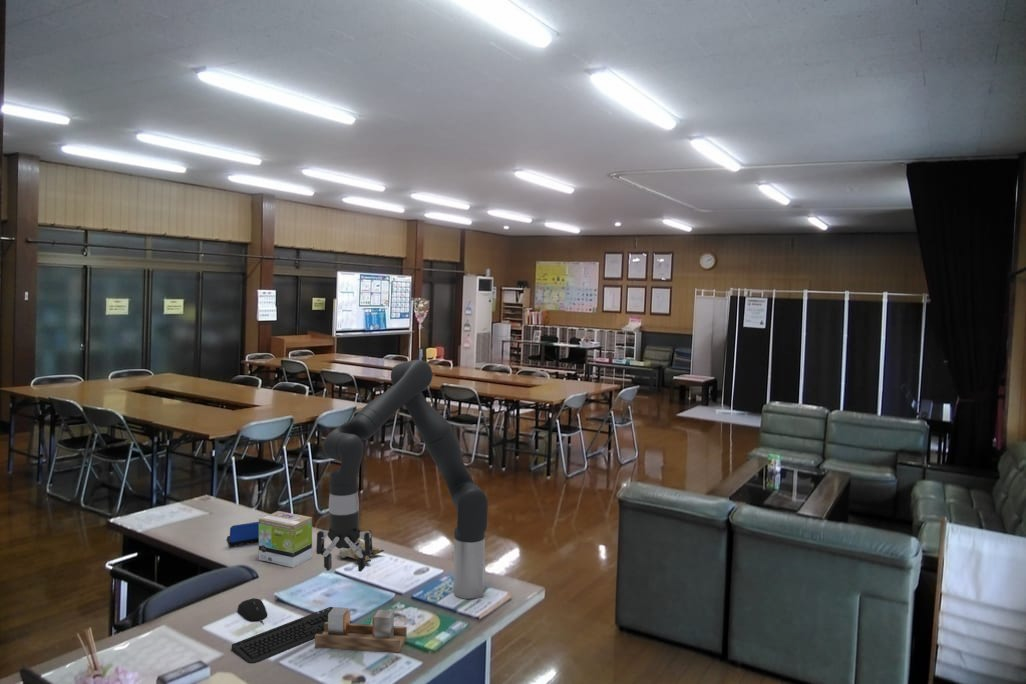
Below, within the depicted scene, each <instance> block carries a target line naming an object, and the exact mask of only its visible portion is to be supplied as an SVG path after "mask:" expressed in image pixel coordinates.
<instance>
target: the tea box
mask: <svg viewBox="0 0 1026 684" xmlns="http://www.w3.org/2000/svg"><path fill="white" fill-rule="evenodd" d="M258 522H259V542H258V560H259V561H264V562H268V563H272V564H275V565H281V566H284V567H288V568H293V569H294V568H295V567H297V566H300V565H301V564H303V563H305V562H307V561H309V560H310V559H311V558H312V557H313V516H307V515H303V514H302V515H301V514H296V513H290V512H287V511H281V510H280V511H279V510H277V511H275V512H272V513H271V514H267V515H266V516H264V517H261V518H258Z"/></svg>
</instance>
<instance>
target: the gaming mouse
mask: <svg viewBox="0 0 1026 684" xmlns="http://www.w3.org/2000/svg"><path fill="white" fill-rule="evenodd" d="M237 613H238V614H239V615H240V616H241V617H242V618H243V619H245V620H246V622H251V623H254V622H255V623H256V622H259V623H261V624H262V625H264V626H265V623H264V621H263V620H265V619H267V618H268V612H267V608H266V606H265V604H264V602H263V600H262V599H259V598H255V597H253V598H250V599H246V600H242V602H240V603H239V604H238V606H237Z"/></svg>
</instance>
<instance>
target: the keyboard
mask: <svg viewBox="0 0 1026 684" xmlns="http://www.w3.org/2000/svg"><path fill="white" fill-rule="evenodd" d="M334 607H335V606H329V607H326V608H323V609H321V610H318V611H315V612H313V613H310V614H307V615H304V616H301V617H300V618H297V619H294V620H292V621H289V622H286V623H284V624H281V625H278V626H276V627H273V628H270V629H268V630H265V631H263V632H260V633H257V634H255V635H252V636H250V637H247V638H244V639H241V640H240V641H237V642H234V643H232V644H231V651H232V652H234V654H236V655H237V656H239V657H240V658H241V659H242V660H244V661H245V662H247V664H252V665H253V664H257V663H260V662H262V661H265V660H267V659H270V658H272V657H275V656H277V655H280V654H281V653H285V652H287V651H289V650H291V649H294V648H296V647H298V646H301V645H303V644H306V643H308V642H311V641H314V640H315V635H316V634H322V633H323V632H324V624H325V622H328V614H329V612H330V611H331V610H332V609H333V608H334ZM350 623H352V620H351V619H350Z"/></svg>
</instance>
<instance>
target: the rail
mask: <svg viewBox="0 0 1026 684" xmlns="http://www.w3.org/2000/svg"><path fill="white" fill-rule="evenodd" d="M394 620H395V611H394V610H388V609H386V610H385V609H378V611H377V612H375V613H374V616H372V624H365V623H352V622H351V623H350V630H349V634H348V635H347V636H343V635H328V622H325V624H324V632H323V633H322V634H316V635H315V639H314V648H320V649H321V648H322V649H323V648H324V649H338V650H339V649H341V650H353V651H354V650H355V651H368V652H369V651H370V652H371V651H372V652H385V653H400V652H401V650H402V648H403V646H404V643H405V642H406V639H408V638H407V631H408V628H407V626H398V625H394V623H395V621H394Z"/></svg>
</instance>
